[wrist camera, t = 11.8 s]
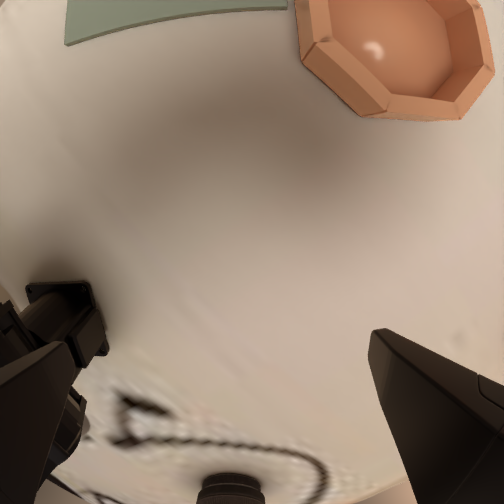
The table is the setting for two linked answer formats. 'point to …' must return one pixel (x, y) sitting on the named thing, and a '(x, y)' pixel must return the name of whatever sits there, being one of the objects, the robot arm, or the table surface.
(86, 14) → the rubber mat
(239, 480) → the dark grey cylinder
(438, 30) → the terracotta bowl
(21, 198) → the table surface
